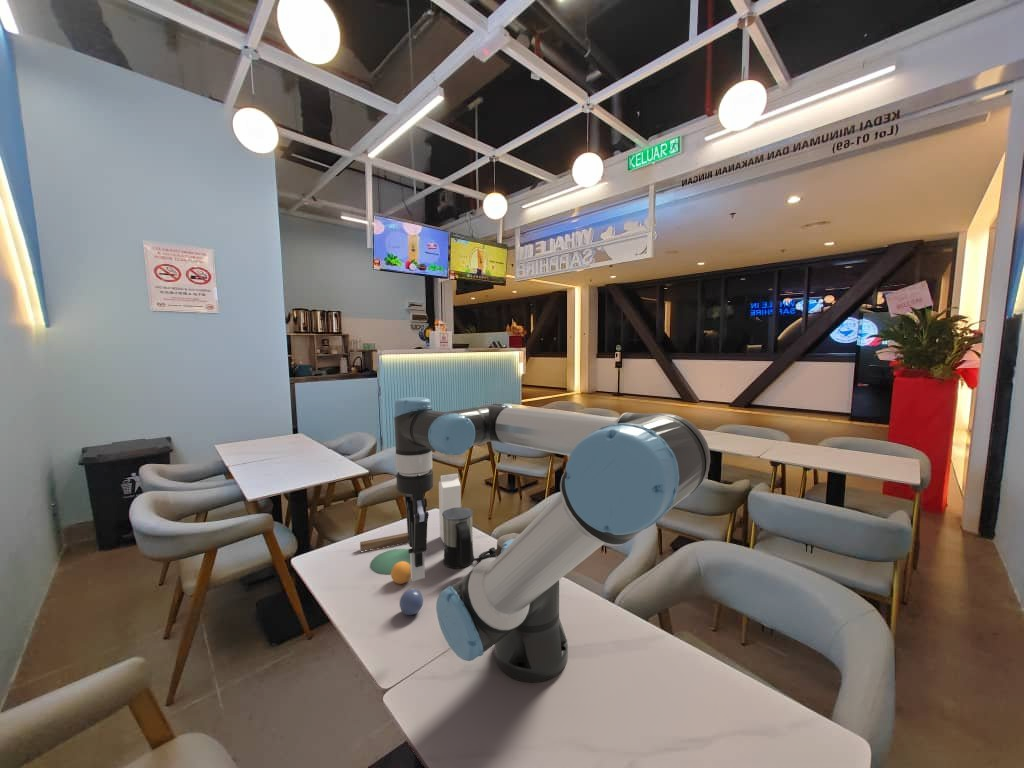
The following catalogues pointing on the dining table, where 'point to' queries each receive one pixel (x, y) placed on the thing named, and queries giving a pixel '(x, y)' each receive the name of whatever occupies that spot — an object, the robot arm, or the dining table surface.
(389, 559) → the green mark
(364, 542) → the walnut stopper
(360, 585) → the dining table surface
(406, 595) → the navy ball
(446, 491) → the milk
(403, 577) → the orange ball
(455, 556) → the milk frother
